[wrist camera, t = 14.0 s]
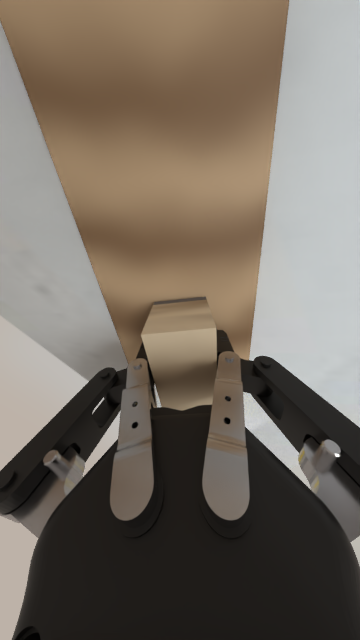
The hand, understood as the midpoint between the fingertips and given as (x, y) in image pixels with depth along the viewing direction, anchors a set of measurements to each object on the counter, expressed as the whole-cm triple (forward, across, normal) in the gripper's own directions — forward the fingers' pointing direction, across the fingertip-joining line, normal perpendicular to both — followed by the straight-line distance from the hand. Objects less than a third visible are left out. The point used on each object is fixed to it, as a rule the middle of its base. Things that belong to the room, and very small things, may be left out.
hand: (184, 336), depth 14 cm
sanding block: (0, 0, 0) cm, 0 cm away
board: (+2, 0, -8) cm, 8 cm away
